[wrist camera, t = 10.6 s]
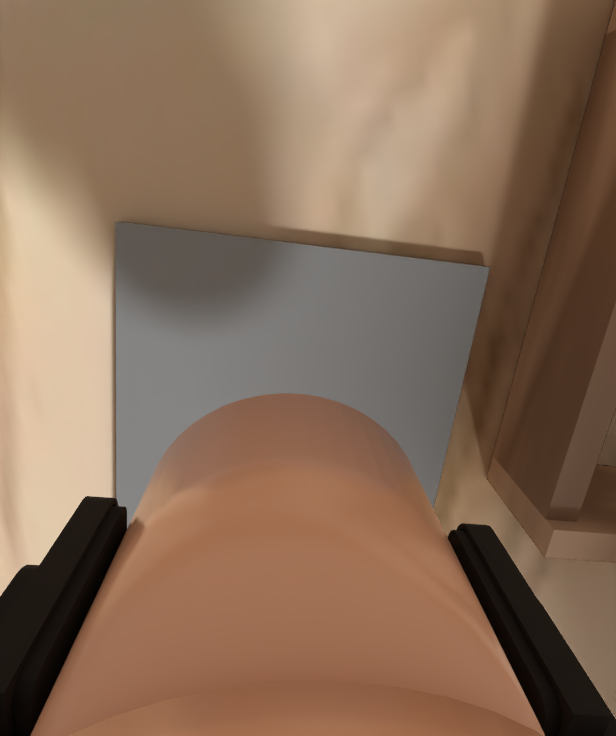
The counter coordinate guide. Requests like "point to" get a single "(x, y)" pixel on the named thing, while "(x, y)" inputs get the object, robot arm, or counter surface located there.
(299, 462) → the terracotta pot
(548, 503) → the wooden tray
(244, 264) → the mat
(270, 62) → the counter surface
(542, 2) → the counter surface
